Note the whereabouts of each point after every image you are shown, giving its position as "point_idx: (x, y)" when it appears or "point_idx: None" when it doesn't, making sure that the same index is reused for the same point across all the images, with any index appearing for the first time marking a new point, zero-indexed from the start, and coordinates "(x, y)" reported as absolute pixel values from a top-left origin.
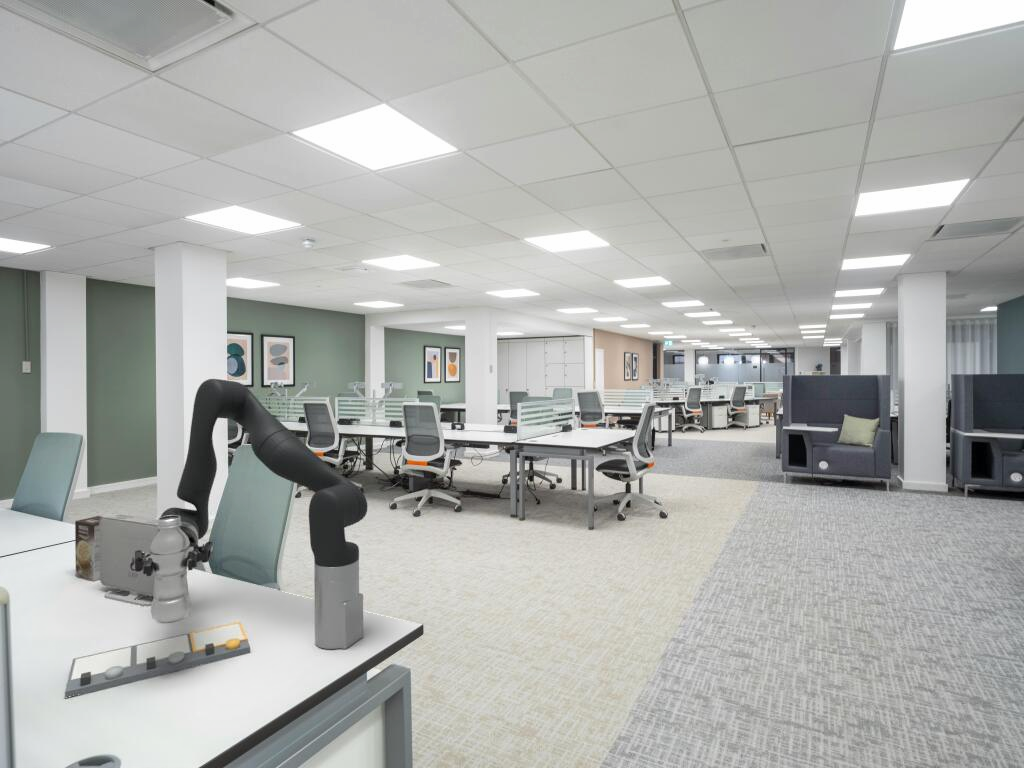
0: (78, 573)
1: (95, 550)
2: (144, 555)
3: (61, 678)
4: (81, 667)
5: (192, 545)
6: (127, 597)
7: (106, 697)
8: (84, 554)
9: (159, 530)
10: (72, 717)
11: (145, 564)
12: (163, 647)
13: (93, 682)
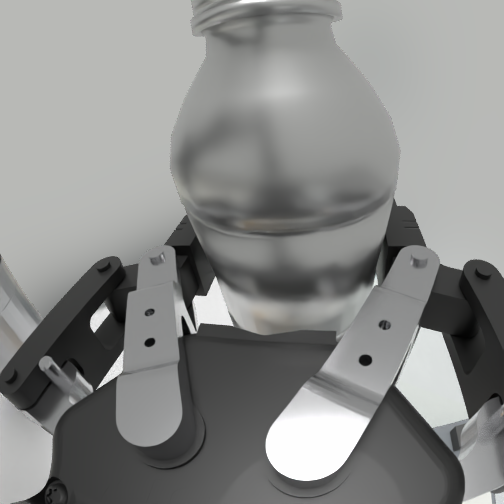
0: None
1: None
2: (491, 416)
3: (500, 497)
4: (479, 501)
5: (91, 405)
6: None
7: (412, 403)
8: None
9: (333, 36)
10: (443, 361)
11: (409, 224)
12: None
13: (445, 435)
